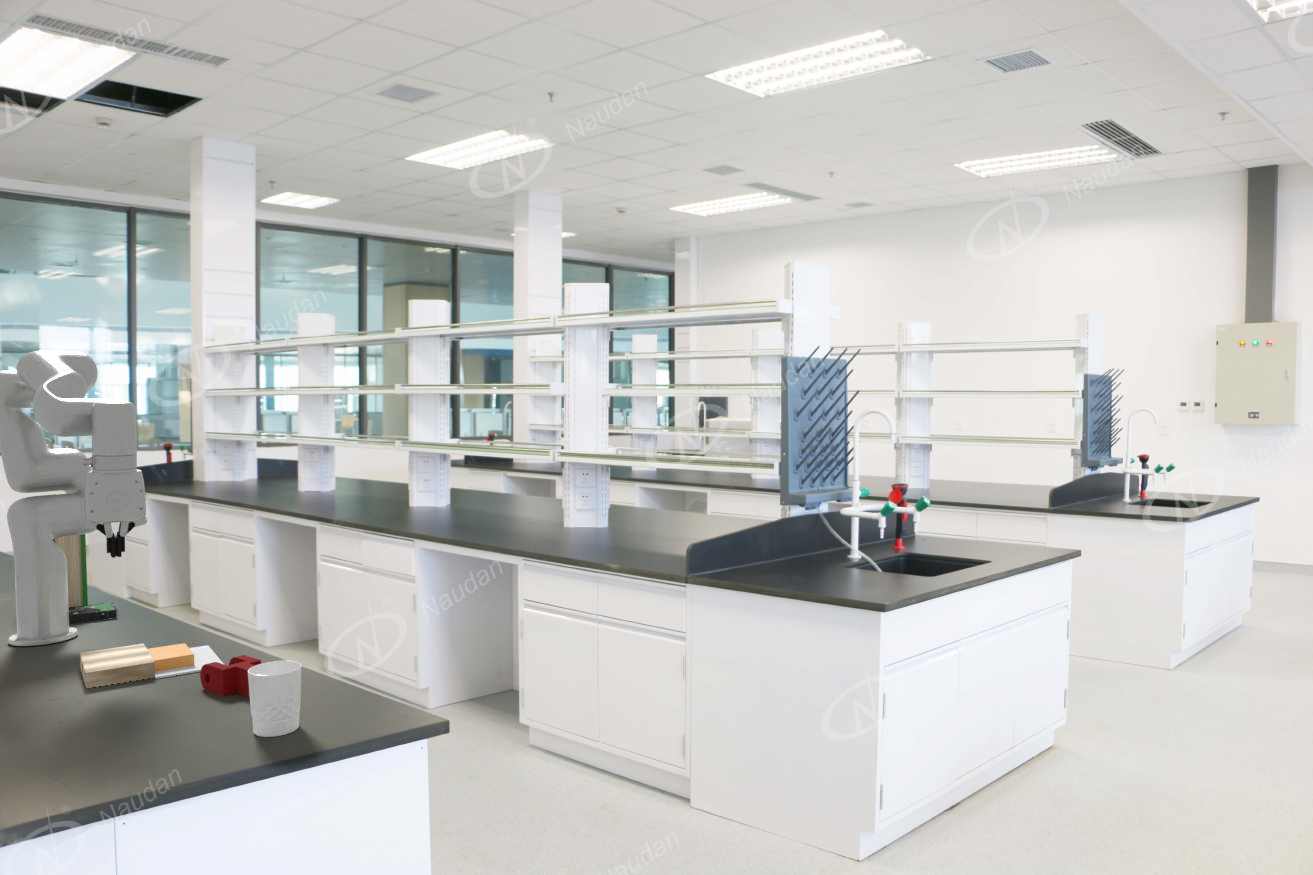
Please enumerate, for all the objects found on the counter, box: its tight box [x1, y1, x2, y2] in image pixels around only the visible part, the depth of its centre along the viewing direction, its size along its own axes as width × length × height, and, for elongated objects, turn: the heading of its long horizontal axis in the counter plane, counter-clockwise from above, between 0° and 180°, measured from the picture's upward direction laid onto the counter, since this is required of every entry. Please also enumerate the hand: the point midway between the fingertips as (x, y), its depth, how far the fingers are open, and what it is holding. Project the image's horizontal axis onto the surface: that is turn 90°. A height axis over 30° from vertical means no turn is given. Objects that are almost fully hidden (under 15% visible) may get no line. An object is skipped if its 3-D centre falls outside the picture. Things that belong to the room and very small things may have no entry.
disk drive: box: [69, 602, 118, 625], centre depth 216 cm, size 10×3×15 cm
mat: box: [154, 645, 224, 680], centre depth 180 cm, size 18×12×1 cm, turn 36°
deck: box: [79, 643, 155, 690], centre depth 173 cm, size 16×11×3 cm
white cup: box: [248, 660, 302, 738], centre depth 143 cm, size 8×8×10 cm
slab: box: [147, 643, 194, 672], centre depth 178 cm, size 10×7×2 cm
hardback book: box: [53, 534, 89, 607], centre depth 229 cm, size 18×7×24 cm, turn 44°
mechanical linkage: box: [199, 654, 262, 698], centre depth 162 cm, size 16×7×5 cm, turn 54°
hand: (115, 555), depth 177 cm, fingers closed
